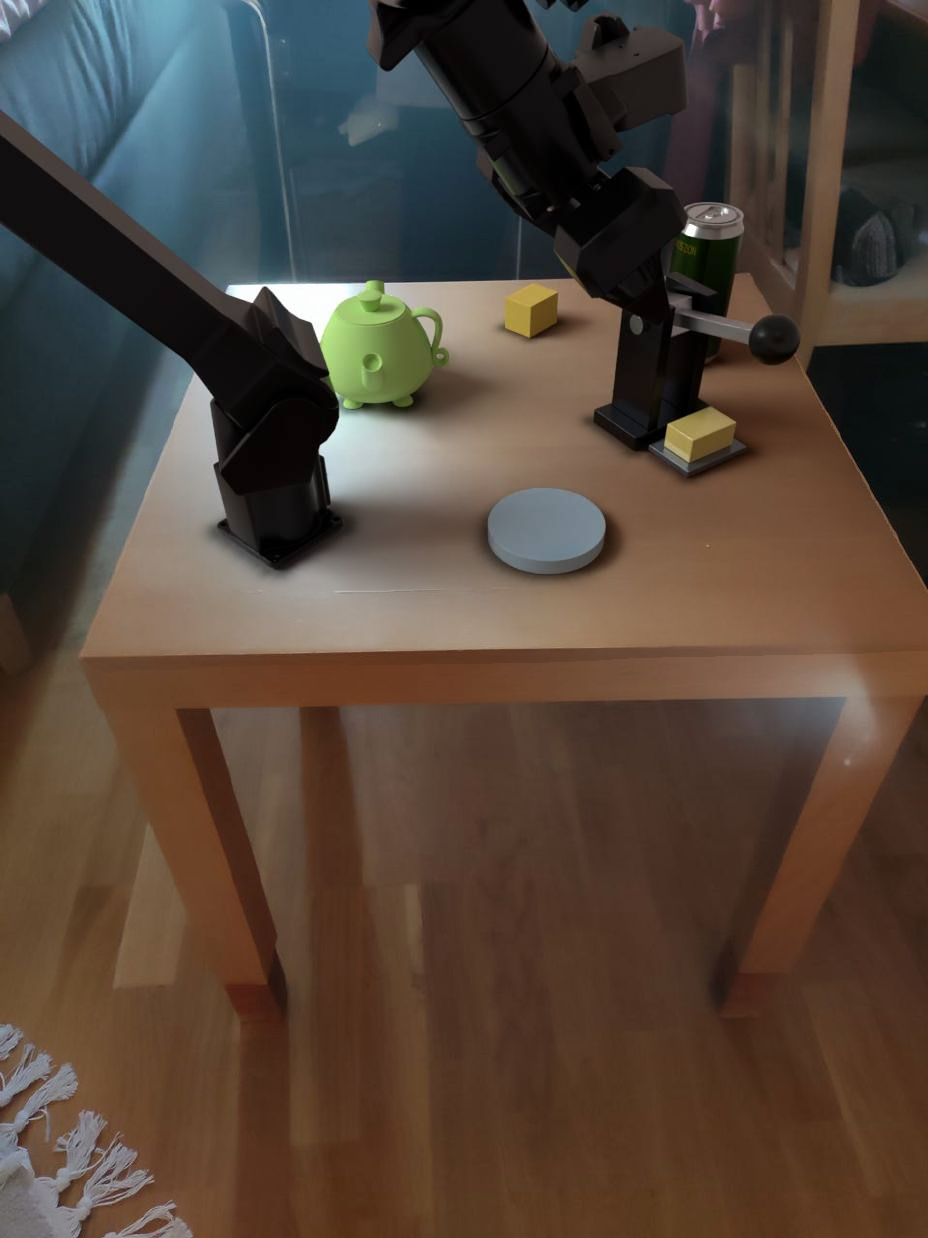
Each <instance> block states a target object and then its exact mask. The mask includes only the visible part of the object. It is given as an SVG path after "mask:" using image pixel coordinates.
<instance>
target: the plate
mask: <svg viewBox="0 0 928 1238" xmlns="http://www.w3.org/2000/svg"><path fill="white" fill-rule="evenodd" d="M606 527H607V525H606V519H605V516H604V514H603V513H602V511H601V510H600V508H599V507H598V506H597V505H596V504H595V503H594V502H592V500H591V499H590V500H589V499H588V498H587V497H585V496H583V495H582V494H578V493H576V492H573V491H570V490H566V489H561V488H556V487H532V488H526V489H522V490H519V491H516V492H513V493H511V494H509V495H507V496H505V497H504V498H502V499H500V500H499V501H498V502H497V503H496V504H495V505H494V506H493V508H492V509H491V511H490V512H489V515H488V517H487V540H488V544H489V547H490V549H491V551H492V552H493V553H494V554H495V556H496V557H497V558H498V559H500V560H501V561H502V562H503V563H505V564H506V565H508V566H510V567H512V568H514V569H516V570H520V571H522V572H526V573H529V574H535V575H536V574H537V575H561V574H567V573H571V572H575V571H577V570H579V569H581V568H583V567H586V566H587V565H589V564H590V563H592V562H593V561H594V560H595V559H596V558H597V557H598V556H599V555H600V554H601V551H602V549H603V548H604V543H605V537H606Z"/></svg>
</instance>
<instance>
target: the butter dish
mask: <svg viewBox="0 0 928 1238" xmlns="http://www.w3.org/2000/svg"><path fill="white" fill-rule="evenodd" d="M736 428H737V421H735V420H733V419H732V418H730V417H729V416H727V415H726V414H724V413H722V412H721V411H719V410H717V409H716V408H714V407H713V406H712V407H708V408H705V409H703V410H700V411H698V412H695V413H693V414H690V415H688V416H686V417H683V418H681V419H678V420H676V421H673V422H671V423H668V425H667V431H666V437H665V438H663V439H661V440H659V441H656V442H654V443H651V444H649V445H648V451H649V452H650V453H651V454H652V455H655V457H657V458H659V459H660V460H661V461H663V462H665V463H666V464H667V465H669V466H670V467H672V468H673V469H674V470H676V471H678V472H679V473H680V474H681V475H683V476H684V477H685V478H689V477H691V476H694V475H696V474H699V473H701V472H703V471H706V470H707V469H710V468H713V467H715V466H716V465H719V464H722V463H723V462H725V461H726V462H727V461H728V460H731V459H733V458H735V457H737V456H739V455H742V454H743V453H746V452H747V447H748V446H746V445H745V444H744V443H742V442H740V441H739V440H737V439H736V438H734V437H735V432H736Z"/></svg>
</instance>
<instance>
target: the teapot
mask: <svg viewBox="0 0 928 1238" xmlns="http://www.w3.org/2000/svg"><path fill="white" fill-rule="evenodd" d="M385 289H386V288H385V282H384V281H383V280H377V279H376V280H375V279H373V280H367V281H366V282H365V290H363V291H360V292H358V293H357V295H354V296H351V297H348V298H346V299H344V300H343V301H341V302H340V303H339V304H338V305H337V306H336V307H335V309H334V310H333V312H332V313H331V315H330V318H329V320H328V321H327V323H326V325H325V327H324V329H323V332H322V335H321V338H320V341H319V344H320V347H321V350H322V353H323V356H324V358H325V361H326V364H327V367H328V370H329V373H330V374H329V376H330V379H331V382H332V384H333V387H334V390H335V393H336V394H338V395H339V396H340V397H342V398H344V401H343V407H344V408H346V409H349V410H356V409H360V408H361V407H362V406H363V405H364V404H366V403H367V404H379V403H380V404H381V403H389V402H392V404H393V405H394V406H396V407H399V408H405V407H408V406H411V405H412V404H413V403H414V400H413V397H412V396H411V394H413V393H415V392H416V391H417V390H418V389H419V388H420V387H422V385H423V384H424V383H425V382H426V381H427V379H429V376H430V375H431V374H432V371H433V367H435V368H443V367H445V366H446V365H448V363H450V357H451V356H450V355H451V354H450V352H449V351H448V350H447V348H445V347H440V343H441V341H442V337H443V331H444V330H443V329H444V324H443V319H442V316H441V315H440V314H439V313H438V312H437V311H436V310H435V309H432V308H430V307H426V306H420V307H416V308H413V309H411V308H410V307H409V306H408V305H407V304H406V303H405V302H404V301H403V300H402V299H400V298H398V297H396V296H394V295H391V294H386V290H385ZM422 317H423V318H428V319H431V320H432V321H433V322H434V326H435V327H434V328H435V329H434V336H433V339H432V344H431V341H430V338H429V337H428V334H427V332H426V330H425V329H424V326H423V325H422V323H421V322H420V320H419V319H418V318H422ZM438 355H442V357H441V358H439V357H438Z"/></svg>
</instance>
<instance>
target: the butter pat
mask: <svg viewBox="0 0 928 1238" xmlns="http://www.w3.org/2000/svg"><path fill="white" fill-rule="evenodd" d="M558 304H559V291H556V290H553V289H550V288H548V287H545V286H542V285H539V284H537V283H535V282H534V283H530V284H529V285H527V286H525V287H522V288H521V289H519V290H517V291H515V292H513V293H512V294H510V295H508V296H506V297H505V314H504V315H505V317H504V321H505V323H504V324H505V325H504V328H505V329H506V330H509V331H511V332H514V333H516V334H519V335H521V336H524V337H526V338H529V339H530V338H532V337H534V336H536V335H537V334H539V333H541V332H543V331H545V330H546V329H548V328H549V327H551V326H553V325H555V324H557V321H558Z"/></svg>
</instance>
